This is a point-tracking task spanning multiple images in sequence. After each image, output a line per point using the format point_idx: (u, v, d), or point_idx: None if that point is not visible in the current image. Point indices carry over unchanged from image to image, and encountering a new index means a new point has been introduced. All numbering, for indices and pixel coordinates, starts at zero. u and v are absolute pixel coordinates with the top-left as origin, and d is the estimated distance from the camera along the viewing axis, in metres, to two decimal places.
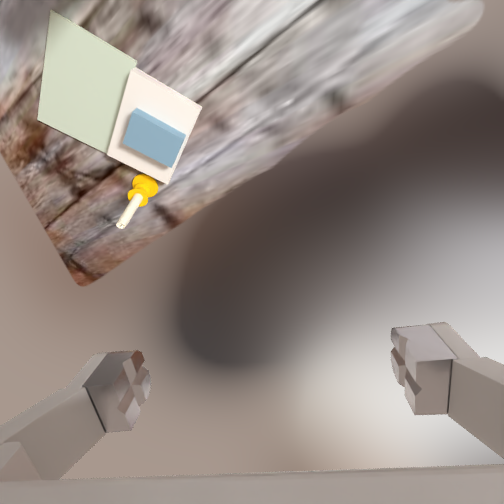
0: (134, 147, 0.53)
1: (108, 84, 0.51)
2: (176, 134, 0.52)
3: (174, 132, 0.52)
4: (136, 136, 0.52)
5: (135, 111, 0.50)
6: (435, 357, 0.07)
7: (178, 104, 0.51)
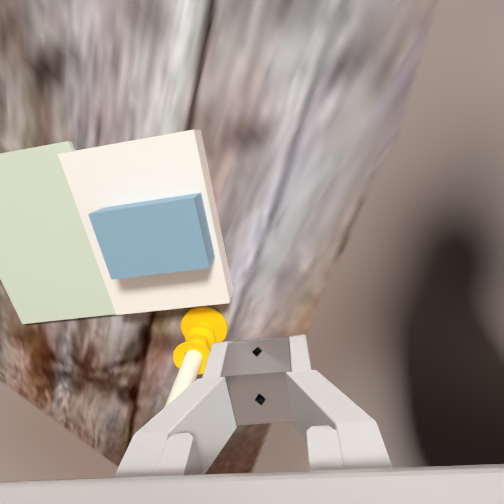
0: (131, 273, 0.26)
1: (60, 207, 0.29)
2: (178, 199, 0.24)
3: (174, 199, 0.25)
4: (121, 251, 0.26)
5: (96, 211, 0.25)
6: (274, 369, 0.08)
7: (154, 149, 0.25)
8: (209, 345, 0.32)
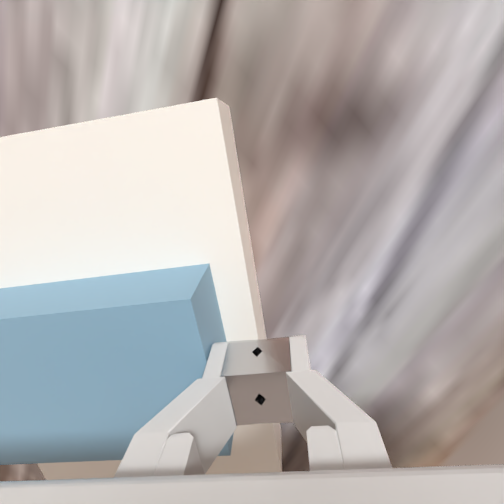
0: (38, 456, 0.11)
1: None
2: (148, 294, 0.09)
3: (138, 290, 0.09)
4: (8, 413, 0.10)
5: None
6: (274, 369, 0.08)
7: (111, 152, 0.09)
8: None
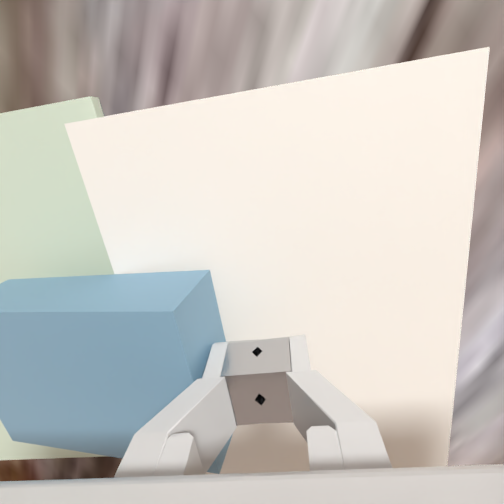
0: (47, 440, 0.11)
1: (66, 254, 0.13)
2: (137, 301, 0.08)
3: (131, 295, 0.09)
4: (20, 398, 0.11)
5: None
6: (274, 369, 0.08)
7: (348, 110, 0.09)
8: None
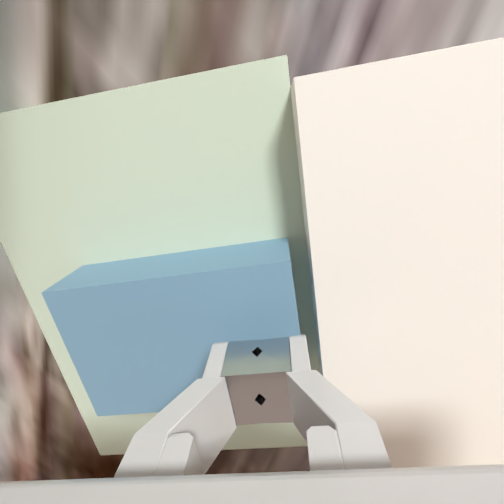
0: (139, 407, 0.12)
1: (225, 231, 0.12)
2: (248, 260, 0.10)
3: (237, 258, 0.11)
4: (118, 367, 0.12)
5: (62, 282, 0.12)
6: (274, 369, 0.08)
7: None
8: None
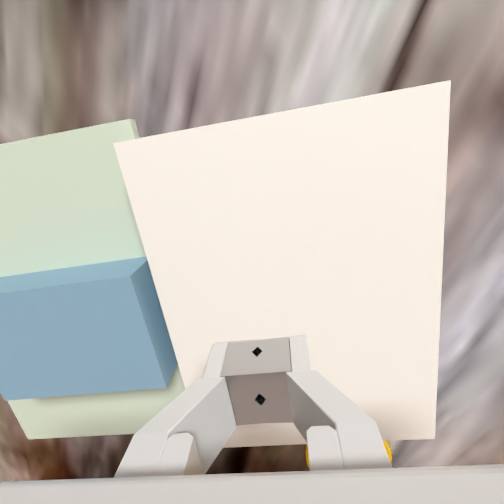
0: (35, 392, 0.15)
1: (103, 250, 0.15)
2: (105, 275, 0.13)
3: (100, 273, 0.14)
4: (15, 359, 0.15)
5: None
6: (274, 369, 0.08)
7: (341, 130, 0.11)
8: None
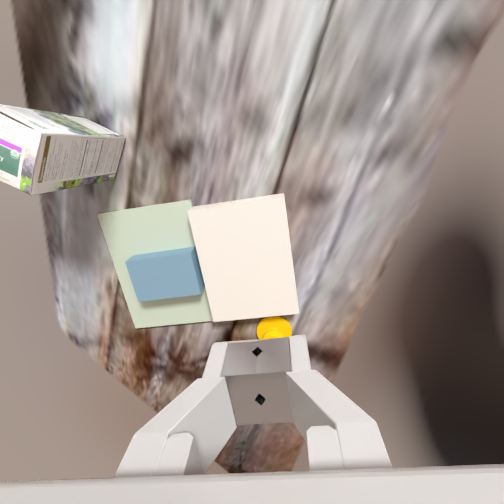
0: (151, 297, 0.41)
1: (177, 244, 0.41)
2: (180, 252, 0.39)
3: (178, 252, 0.40)
4: (145, 284, 0.41)
5: (129, 259, 0.40)
6: (274, 369, 0.08)
7: (255, 208, 0.36)
8: None
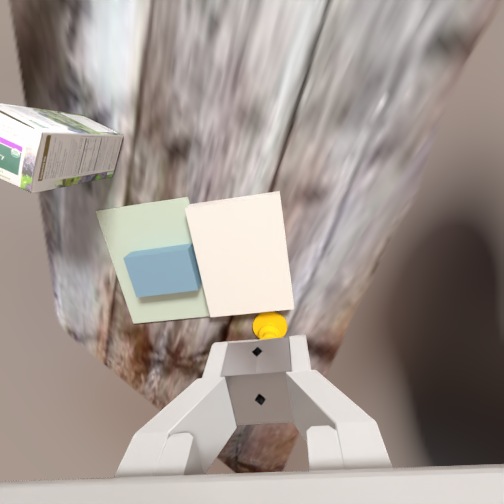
0: (149, 293, 0.42)
1: (174, 241, 0.42)
2: (178, 249, 0.40)
3: (175, 248, 0.40)
4: (143, 280, 0.41)
5: (127, 255, 0.41)
6: (274, 369, 0.08)
7: (252, 206, 0.37)
8: None
